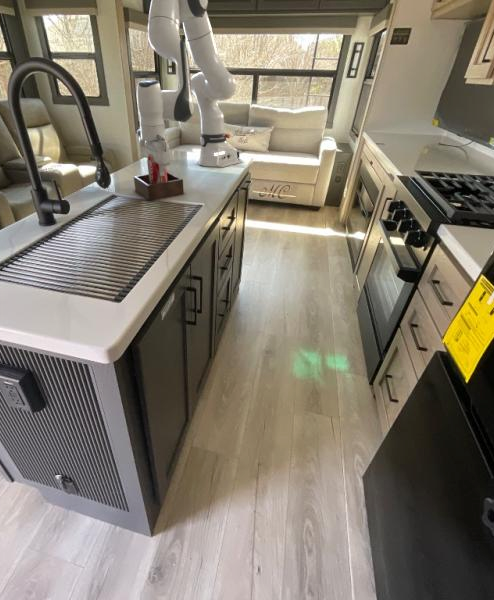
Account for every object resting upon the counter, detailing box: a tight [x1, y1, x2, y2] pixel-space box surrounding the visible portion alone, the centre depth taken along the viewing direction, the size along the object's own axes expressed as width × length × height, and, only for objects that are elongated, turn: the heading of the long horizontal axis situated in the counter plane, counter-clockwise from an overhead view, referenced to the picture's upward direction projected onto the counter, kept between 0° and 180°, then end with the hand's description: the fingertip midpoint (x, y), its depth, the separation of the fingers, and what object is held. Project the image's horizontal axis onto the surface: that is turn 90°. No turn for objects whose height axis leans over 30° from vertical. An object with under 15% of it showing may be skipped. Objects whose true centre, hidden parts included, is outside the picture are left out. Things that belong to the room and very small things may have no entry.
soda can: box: [146, 155, 168, 184], centre depth 127 cm, size 7×7×12 cm
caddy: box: [133, 171, 185, 201], centre depth 130 cm, size 15×15×6 cm
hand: (157, 173), depth 127 cm, fingers closed on soda can, 7 cm apart
